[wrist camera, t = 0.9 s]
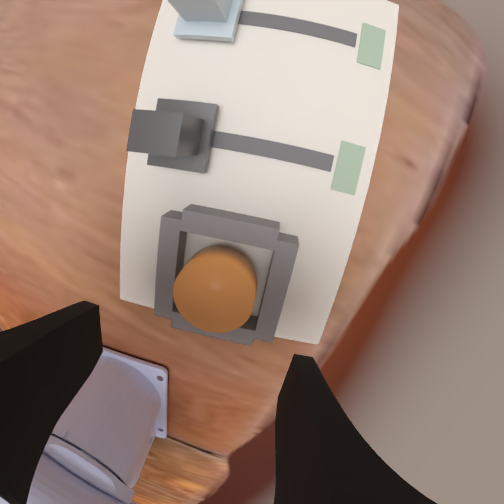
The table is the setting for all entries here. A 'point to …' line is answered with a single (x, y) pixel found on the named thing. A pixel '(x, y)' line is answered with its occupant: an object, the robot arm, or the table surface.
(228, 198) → the control panel
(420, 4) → the table surface
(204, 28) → the pale blue lever
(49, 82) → the table surface
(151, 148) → the dark gray switch
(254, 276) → the orange button
